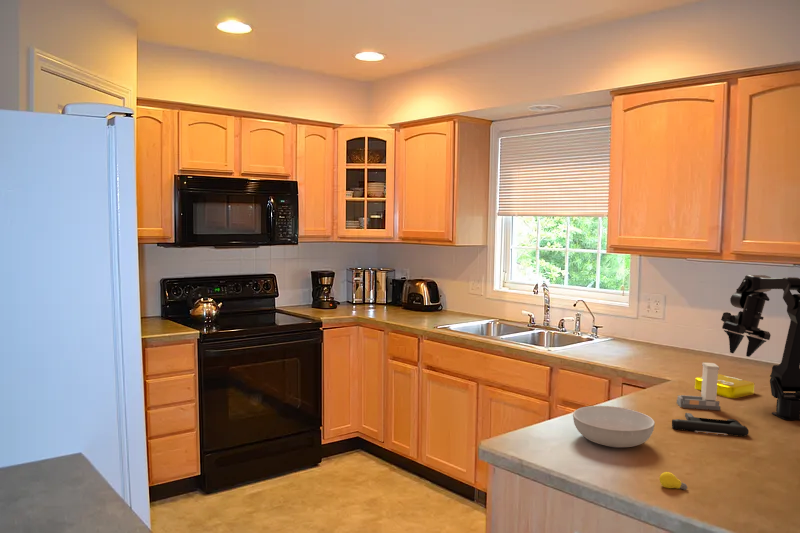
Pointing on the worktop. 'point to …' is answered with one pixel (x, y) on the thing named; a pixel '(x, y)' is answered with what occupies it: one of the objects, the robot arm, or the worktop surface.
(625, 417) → the serving bowl
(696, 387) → the element tile
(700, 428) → the door handle
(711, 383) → the tall lidded box
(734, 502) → the worktop surface
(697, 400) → the switch base
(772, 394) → the robot arm
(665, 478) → the light bulb
